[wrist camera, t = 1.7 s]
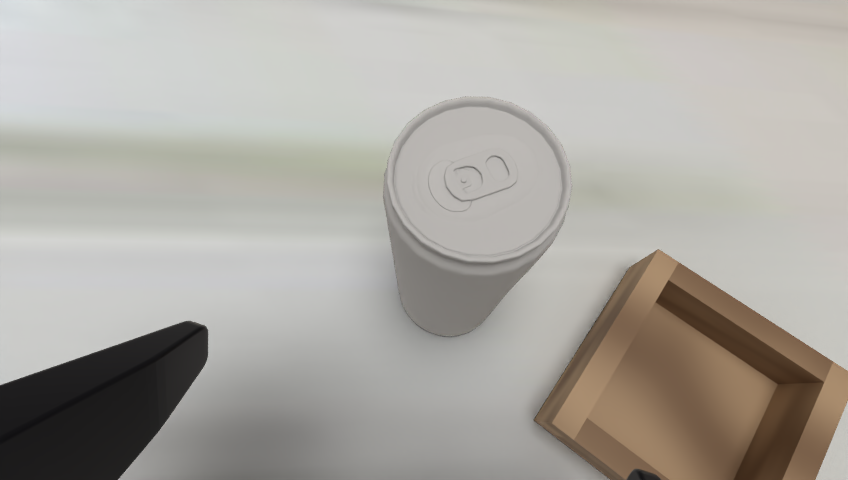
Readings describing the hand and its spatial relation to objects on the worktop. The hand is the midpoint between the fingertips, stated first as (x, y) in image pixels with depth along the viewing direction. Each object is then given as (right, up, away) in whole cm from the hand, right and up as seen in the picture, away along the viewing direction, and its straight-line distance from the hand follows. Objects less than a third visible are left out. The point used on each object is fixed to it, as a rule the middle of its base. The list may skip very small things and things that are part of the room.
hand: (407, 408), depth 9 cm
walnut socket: (+12, -4, +12) cm, 17 cm away
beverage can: (+1, +1, +13) cm, 13 cm away
